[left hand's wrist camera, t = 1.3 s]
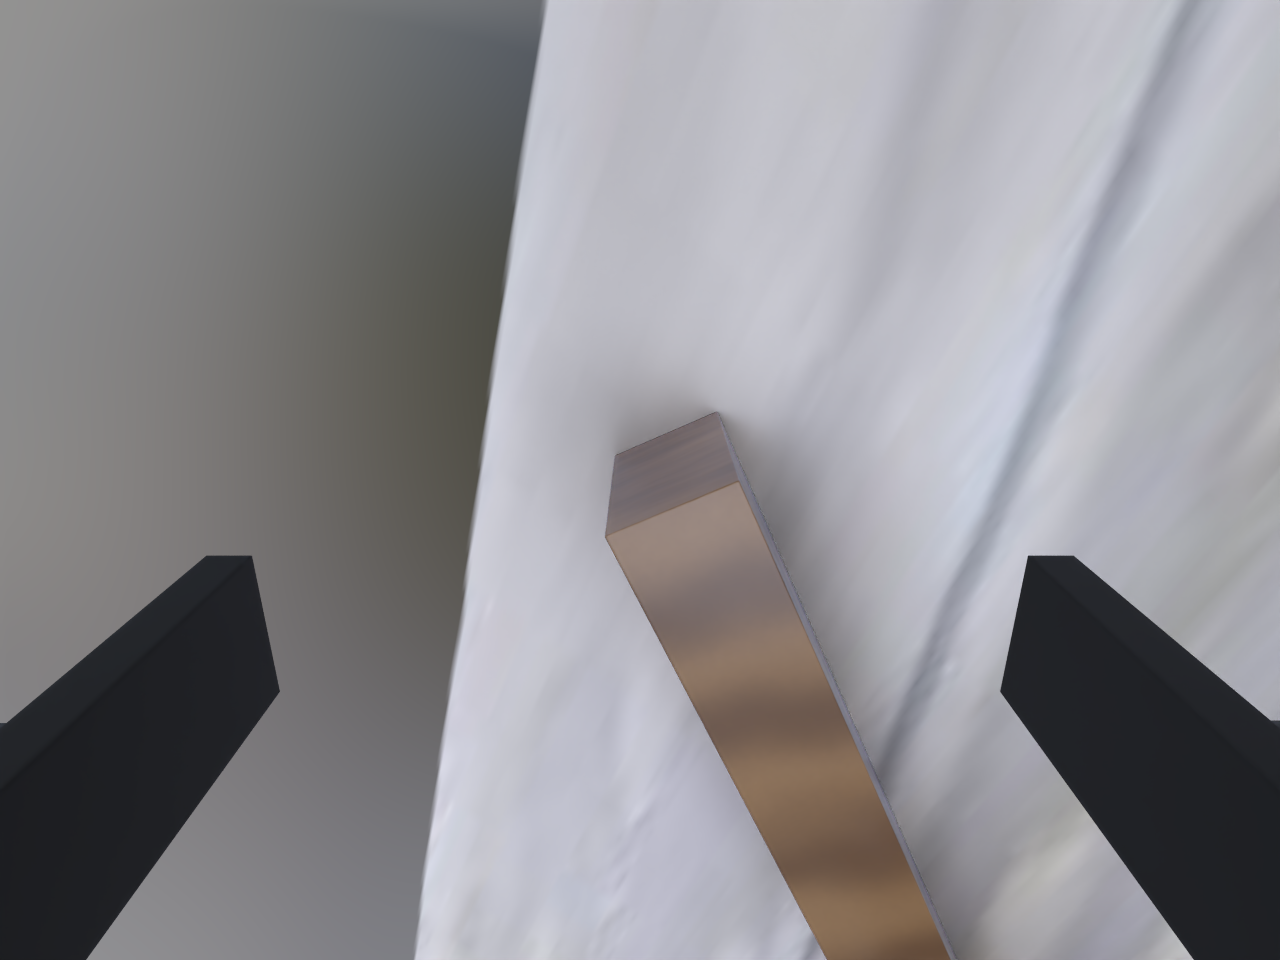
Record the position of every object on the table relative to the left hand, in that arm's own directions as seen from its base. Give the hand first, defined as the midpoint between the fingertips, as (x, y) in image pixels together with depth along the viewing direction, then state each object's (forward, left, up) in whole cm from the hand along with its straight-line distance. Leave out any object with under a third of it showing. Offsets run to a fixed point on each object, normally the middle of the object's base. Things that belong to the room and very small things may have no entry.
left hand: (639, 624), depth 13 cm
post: (-16, +29, -21) cm, 40 cm away
